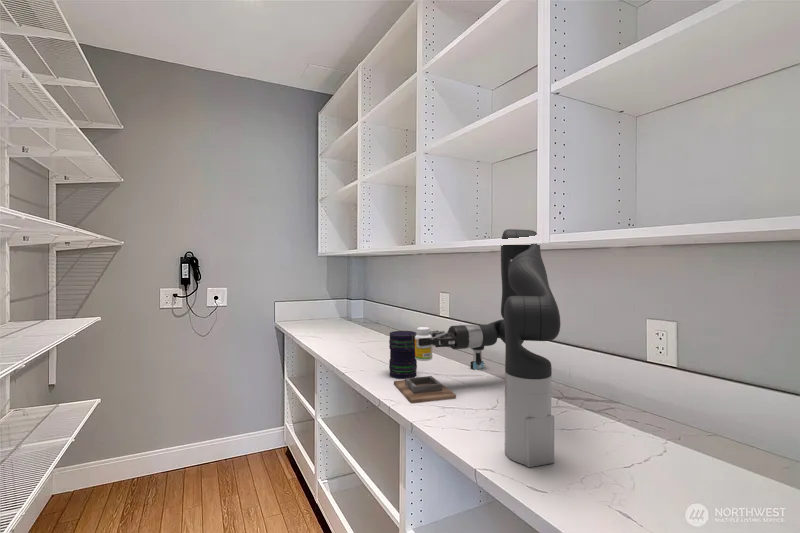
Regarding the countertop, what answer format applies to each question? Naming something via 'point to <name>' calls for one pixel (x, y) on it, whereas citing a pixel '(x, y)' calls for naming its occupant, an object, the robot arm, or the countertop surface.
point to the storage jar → (402, 355)
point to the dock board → (423, 389)
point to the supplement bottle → (423, 351)
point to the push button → (477, 358)
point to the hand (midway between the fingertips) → (415, 340)
